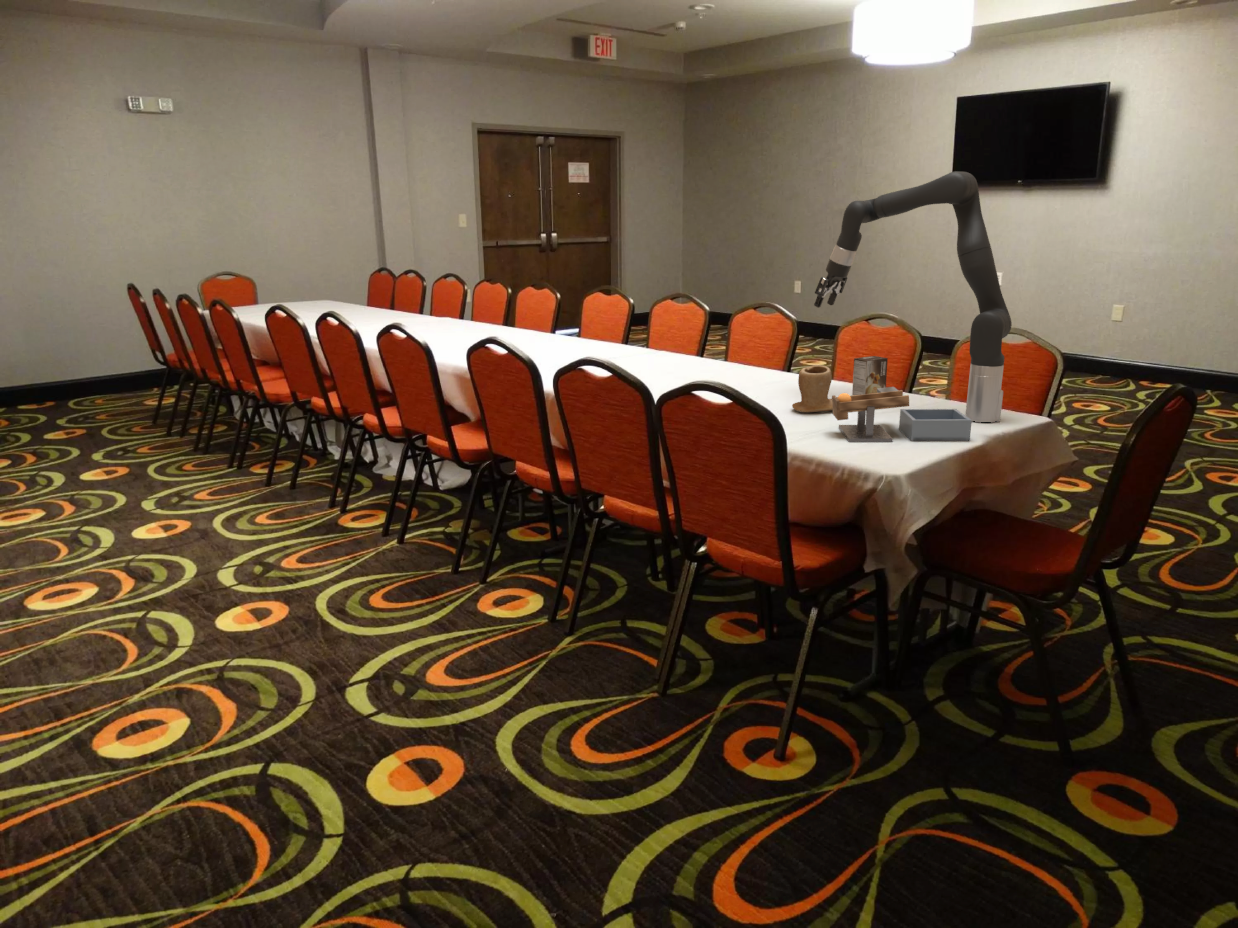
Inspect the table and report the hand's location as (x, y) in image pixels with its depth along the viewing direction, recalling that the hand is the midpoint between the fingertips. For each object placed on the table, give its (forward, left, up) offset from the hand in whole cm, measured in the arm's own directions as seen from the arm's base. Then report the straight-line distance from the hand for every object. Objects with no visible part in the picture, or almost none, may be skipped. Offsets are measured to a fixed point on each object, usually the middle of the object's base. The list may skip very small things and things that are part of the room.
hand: (823, 305), depth 287 cm
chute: (-6, +50, -25) cm, 56 cm away
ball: (+2, +54, -21) cm, 58 cm away
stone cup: (+4, +24, -32) cm, 40 cm away
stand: (-5, +54, -31) cm, 63 cm away
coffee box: (-14, +16, -32) cm, 38 cm away
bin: (-24, +54, -31) cm, 67 cm away
